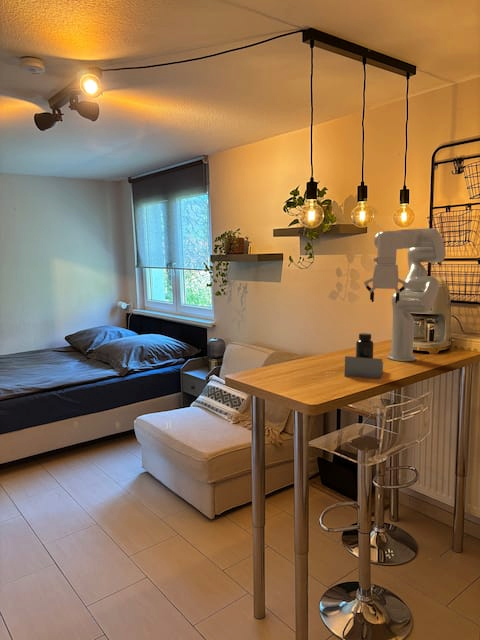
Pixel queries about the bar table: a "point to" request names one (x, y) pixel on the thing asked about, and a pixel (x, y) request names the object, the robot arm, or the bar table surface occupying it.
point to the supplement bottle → (364, 346)
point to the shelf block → (363, 367)
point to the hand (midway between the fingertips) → (384, 302)
